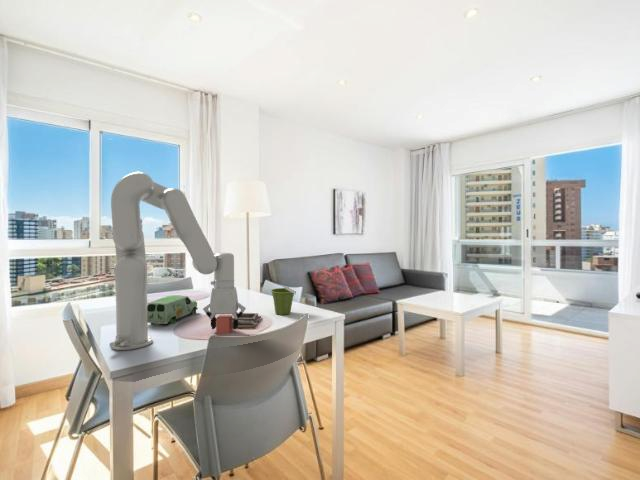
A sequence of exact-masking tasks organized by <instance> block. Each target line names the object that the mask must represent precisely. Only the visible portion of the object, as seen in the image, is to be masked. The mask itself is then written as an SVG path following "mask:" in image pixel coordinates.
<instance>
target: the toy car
mask: <svg viewBox="0 0 640 480" xmlns="http://www.w3.org/2000/svg"><path fill="white" fill-rule="evenodd" d="M198 309H199V308H198V301H196V300H191V299H190V298H189V296H187V295H182V294H181V295H180V294H179V295H178V294H177V295H176V294H175V295H167V296H165V297H161V298H159V299H156V300H152V301H150V302H147V321H148V323H149V324H151V325H153V324H158V325H159V324H161V325H162V324H163V325H164V324H165V325H166V324H167V325H168V326H171V325H174V324H175V323H176V321H177V320H178V319H180V318H182V317H185V316H187V315H190V316H193V315H196V314H197V310H198Z"/></svg>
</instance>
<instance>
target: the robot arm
mask: <svg viewBox="0 0 640 480" xmlns="http://www.w3.org/2000/svg"><path fill="white" fill-rule="evenodd" d="M110 198H111V199H110V207H111V211H110V212H111V221H112V222H111V223H112V225H111V226H112V240H113V244H114V246H115V255H116V258H115V259H116V263H115V267H114V283H115V310H116V311H115V318H116V321H115V322H116V324H115V326H116V327H115V328H116V334H115V340H113V341H111V342H110V343H109V348H110V349H113V350H116V351H129V350H137V349H140V348H145V347H146V346H149V345H151V344H152V343H153V337H152V336H151V335H150V336H149V335H148V334H149V333H148V331H149V330H148V328H149V327H148V326H149V325H148V321H147V305H148V264H147V258H146V257H147V254H146V247H145V246H146V245H145V236H144V232H143V230H142V222H141V211H140V210H141V208H140V203H141V202H144V203H146V204H148V205H151V206H153V207H155V208H158V209H160V210H163V211H164V212H165V213H166V215H167V219H169V222H170V224H171V226H172V227H173V229H174V231H175V234H176V235H177V237H178V238H179V240H180V241H181V243H183V244H184V247H185V248H186V250H187V251H188V253H189V256H190V258H191V259H192V266H193V268H194V270H195V271H197V272H198V273H199V274H202V275H205V276H206V275H210V274H212V273H214V279H213V281H210V285H211V286H213V287H212V288H211V291H210V293H211V294H210V302H209V304H207V305H206V306H204V307H203V308H202V310H203V312H204V313H205V314H206V316H207V317H208V318H209V320H210V327H211V330H215V329H216V318H217V317H216V316H217V315H232V317H234V320H233V330H236V328H237V327H238V318H239V317H240V316H241V315H242V314H243V313H244V312H245V311H246V309H247V308H246V307H245V305H242V304H241V303H240V302H239V298H238V291H237V288H236V286H235V255H234V254H233V253H232V252H231V253H230V252H218V253H214V251H213V250H212V247H211V246H210V243H209V242H208V239H207V238H206V236H205V234H204V231H203V229H202V228H201V226H200V223H199V222H198V220H197V218H196V217H195V214H194V211H193V210H192V208H191V206H190V204H189V202H188V199H187V197H186V195H185V194H184V192H183V191H182V190H181V189H179V188H175V187H174V188H172V187H171V188H168V187H167V186H163V185H162V184H159V183H157V182H155V181H154V180H153V178H152V177H151V176H149V174H147V173H145V172H142V171H141V172H140V171H135V172H132V173H129V174H127V175H125V176H124V177H122V178H121V179H119V181H117V183H116V184H115V186H114V187H113V189H112V193H111V197H110ZM239 309H240V311H239V312H238V310H239Z"/></svg>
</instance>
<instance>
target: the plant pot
mask: <svg viewBox="0 0 640 480" xmlns="http://www.w3.org/2000/svg"><path fill="white" fill-rule="evenodd" d="M270 292H271V294H272V299H273V304H274V312H275V314H276V315H279V316H282V315H283V316H285V315H290V314H291V311H292V304H293V299H294V296H295V292H293V291H291V290H289V289H288V288H286V287H282V288H272V289H271V290H270Z"/></svg>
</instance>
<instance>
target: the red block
mask: <svg viewBox="0 0 640 480" xmlns="http://www.w3.org/2000/svg"><path fill="white" fill-rule="evenodd" d="M215 329H216V330H215V331H216V333H229V334H230V333H231V332H232V331H233V330H234V329H233V315H232V314H219V315H218V316H217V317H216V328H215ZM216 333H215V334H216Z"/></svg>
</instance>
